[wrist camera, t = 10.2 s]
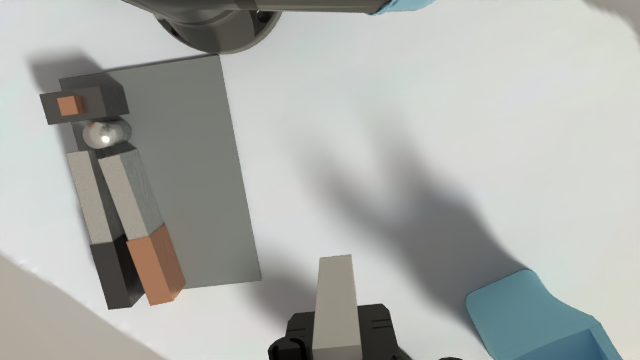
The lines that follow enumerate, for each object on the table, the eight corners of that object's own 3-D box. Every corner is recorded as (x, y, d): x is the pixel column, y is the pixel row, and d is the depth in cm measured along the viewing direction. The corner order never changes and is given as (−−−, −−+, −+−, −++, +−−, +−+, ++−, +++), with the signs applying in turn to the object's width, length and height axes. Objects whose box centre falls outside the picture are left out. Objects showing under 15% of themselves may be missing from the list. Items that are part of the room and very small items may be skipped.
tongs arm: (104, 122, 45) (78, 126, 40) (127, 116, 45) (103, 119, 40) (165, 288, 50) (148, 308, 45) (186, 283, 50) (170, 303, 45)
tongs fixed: (68, 94, 45) (32, 94, 39) (122, 86, 44) (93, 85, 39) (124, 292, 50) (99, 316, 45) (172, 286, 50) (153, 310, 44)
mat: (61, 79, 45) (58, 79, 44) (219, 55, 43) (218, 55, 43) (121, 294, 51) (120, 296, 50) (261, 278, 50) (260, 280, 49)
